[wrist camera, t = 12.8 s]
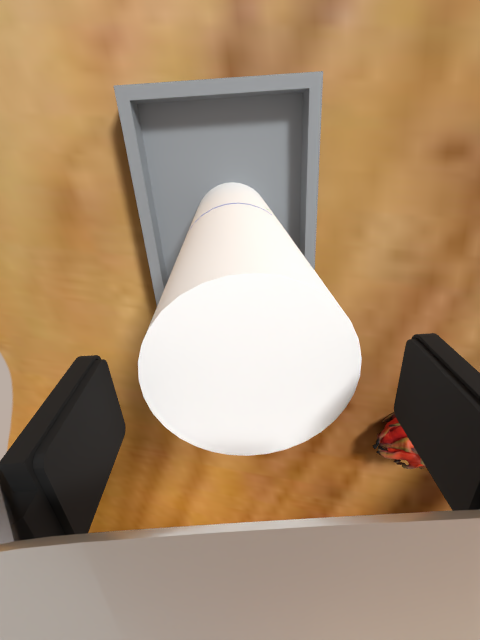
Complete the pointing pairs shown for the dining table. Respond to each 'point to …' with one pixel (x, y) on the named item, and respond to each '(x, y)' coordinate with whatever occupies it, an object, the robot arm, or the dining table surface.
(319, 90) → the tray
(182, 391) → the cylindrical container
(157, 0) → the dining table surface
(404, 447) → the dragon fruit
